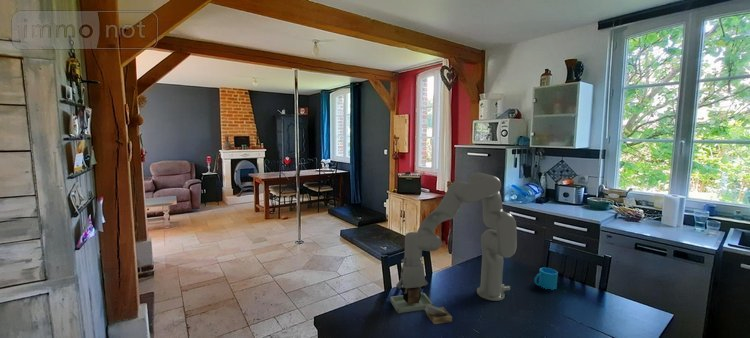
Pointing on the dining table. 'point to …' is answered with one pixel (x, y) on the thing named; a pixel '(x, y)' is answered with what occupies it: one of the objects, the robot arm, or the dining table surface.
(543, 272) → the mug
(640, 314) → the dining table surface
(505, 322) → the dining table surface
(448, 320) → the square wooden frame
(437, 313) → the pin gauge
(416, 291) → the walnut block
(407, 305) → the tray
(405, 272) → the robot arm
